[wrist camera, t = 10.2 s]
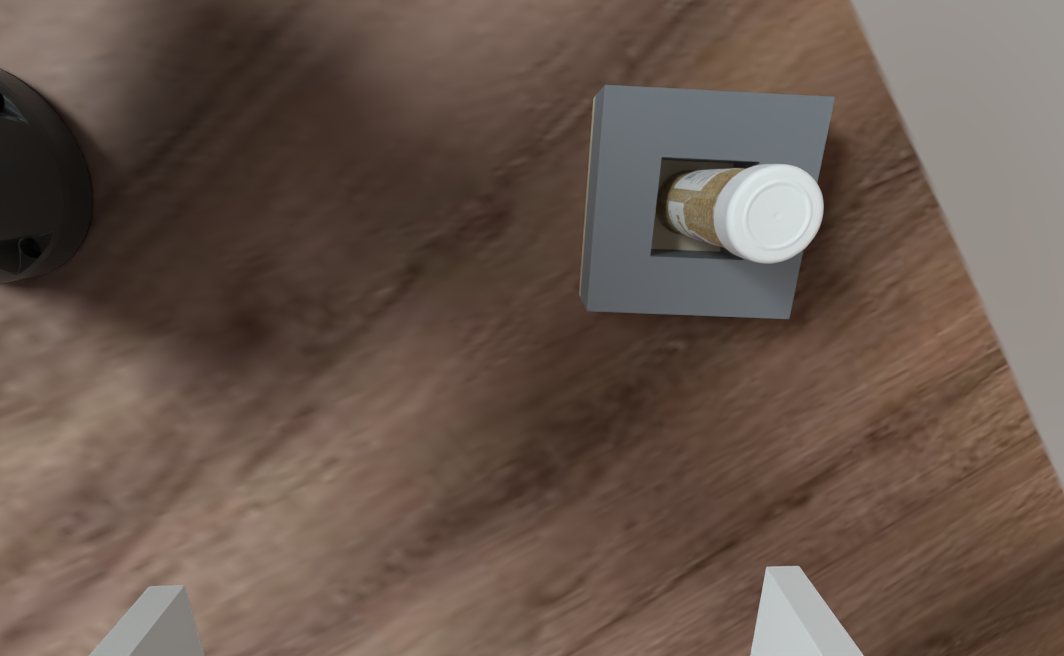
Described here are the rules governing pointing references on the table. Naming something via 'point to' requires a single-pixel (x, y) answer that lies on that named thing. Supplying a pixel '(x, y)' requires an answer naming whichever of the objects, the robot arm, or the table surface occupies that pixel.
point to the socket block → (649, 160)
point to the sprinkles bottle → (744, 209)
